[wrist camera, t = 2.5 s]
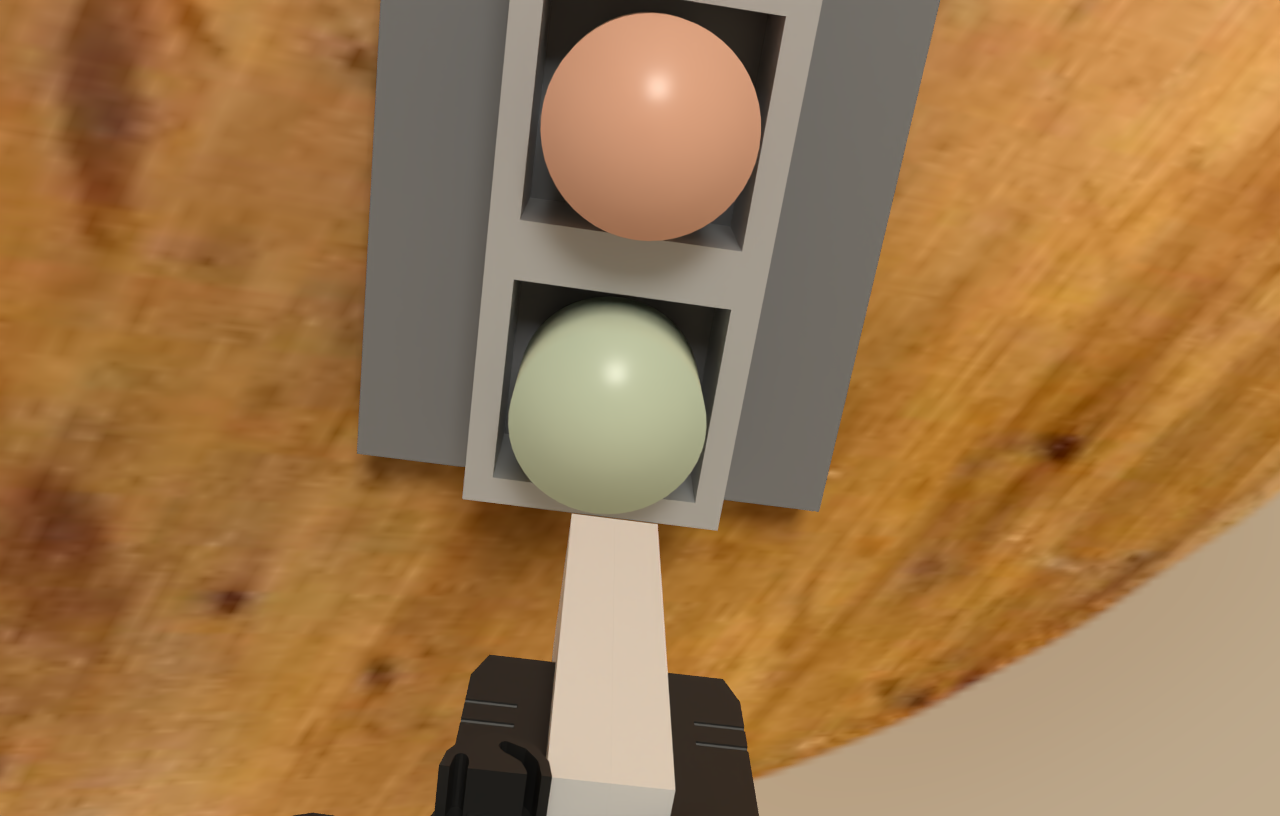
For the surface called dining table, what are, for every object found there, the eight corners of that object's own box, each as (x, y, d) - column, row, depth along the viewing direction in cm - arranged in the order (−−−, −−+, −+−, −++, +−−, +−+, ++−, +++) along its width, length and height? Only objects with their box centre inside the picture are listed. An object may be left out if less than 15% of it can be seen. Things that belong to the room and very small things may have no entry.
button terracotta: (561, -4, 24) (554, -3, 22) (762, 28, 25) (780, 33, 22) (538, 200, 26) (529, 225, 23) (726, 227, 26) (739, 255, 24)
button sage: (529, 284, 27) (518, 317, 24) (712, 309, 27) (722, 345, 24) (510, 452, 29) (498, 501, 26) (682, 473, 29) (689, 524, 26)
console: (420, -421, 25) (374, -518, 20) (991, -316, 26) (1073, -384, 21) (372, 427, 33) (330, 499, 28) (807, 483, 34) (838, 561, 29)
